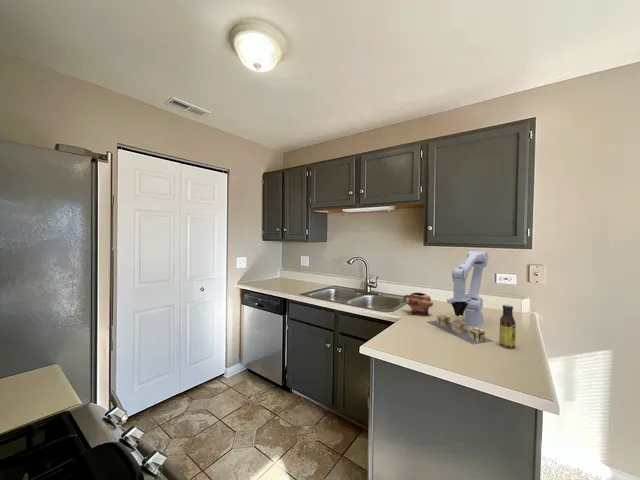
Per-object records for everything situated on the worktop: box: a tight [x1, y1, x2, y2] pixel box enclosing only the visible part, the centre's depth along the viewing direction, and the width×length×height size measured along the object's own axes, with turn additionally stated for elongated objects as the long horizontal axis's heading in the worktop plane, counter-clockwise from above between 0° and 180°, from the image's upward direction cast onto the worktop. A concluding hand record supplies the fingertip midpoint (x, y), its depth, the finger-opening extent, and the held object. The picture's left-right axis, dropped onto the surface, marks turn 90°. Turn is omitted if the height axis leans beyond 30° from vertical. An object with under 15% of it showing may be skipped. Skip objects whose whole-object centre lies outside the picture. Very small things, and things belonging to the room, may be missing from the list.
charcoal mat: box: [426, 320, 494, 345], centre depth 147 cm, size 13×34×1 cm, turn 17°
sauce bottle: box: [498, 304, 517, 350], centre depth 127 cm, size 6×6×20 cm
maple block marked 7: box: [468, 327, 486, 342], centre depth 134 cm, size 5×5×5 cm
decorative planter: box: [403, 292, 434, 317], centre depth 178 cm, size 20×12×14 cm, turn 51°
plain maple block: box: [451, 320, 467, 334], centre depth 145 cm, size 5×5×5 cm
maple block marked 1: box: [436, 313, 451, 326], centre depth 156 cm, size 5×5×5 cm
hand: (459, 315), depth 145 cm, fingers closed
